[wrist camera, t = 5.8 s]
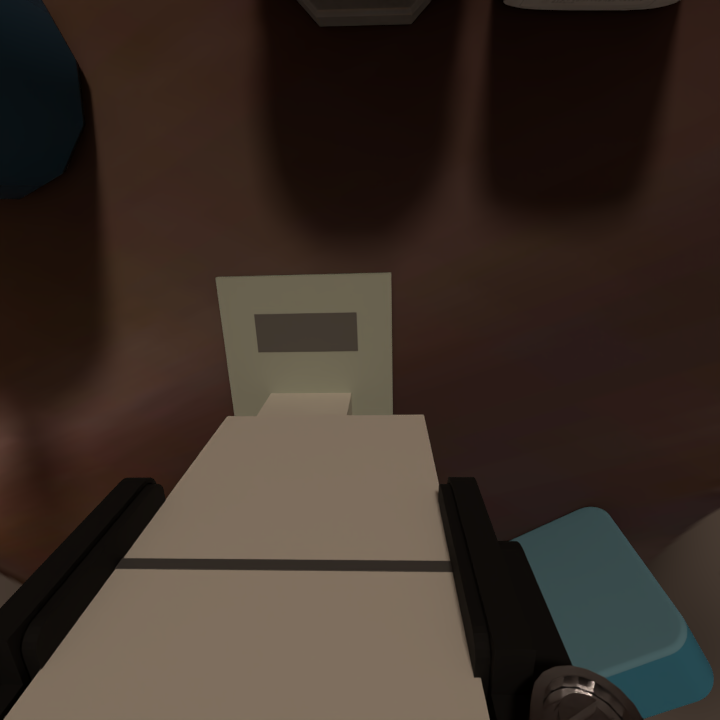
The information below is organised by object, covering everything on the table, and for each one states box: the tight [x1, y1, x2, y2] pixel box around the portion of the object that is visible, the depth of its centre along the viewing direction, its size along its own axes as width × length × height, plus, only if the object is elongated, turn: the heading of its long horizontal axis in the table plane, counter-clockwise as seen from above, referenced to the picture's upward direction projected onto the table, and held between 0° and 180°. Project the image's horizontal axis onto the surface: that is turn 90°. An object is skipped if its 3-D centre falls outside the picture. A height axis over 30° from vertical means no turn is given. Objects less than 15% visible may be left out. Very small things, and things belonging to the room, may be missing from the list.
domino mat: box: [216, 272, 393, 416], centre depth 35 cm, size 12×32×1 cm, turn 2°
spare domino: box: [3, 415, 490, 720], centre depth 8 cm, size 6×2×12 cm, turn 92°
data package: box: [510, 507, 713, 719], centre depth 31 cm, size 12×4×12 cm, turn 123°
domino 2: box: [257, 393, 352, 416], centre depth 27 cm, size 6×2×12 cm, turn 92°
